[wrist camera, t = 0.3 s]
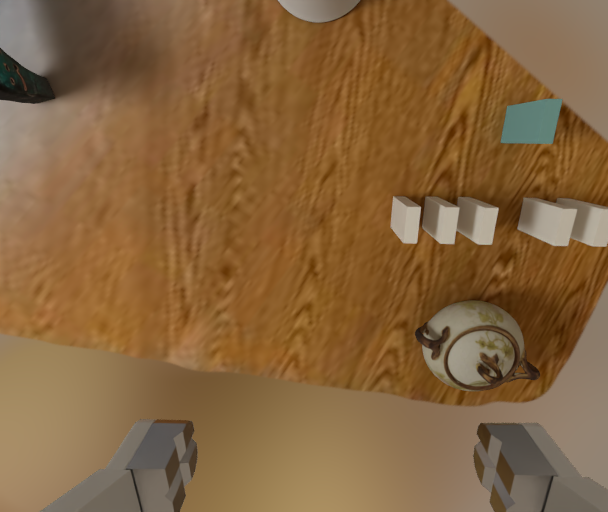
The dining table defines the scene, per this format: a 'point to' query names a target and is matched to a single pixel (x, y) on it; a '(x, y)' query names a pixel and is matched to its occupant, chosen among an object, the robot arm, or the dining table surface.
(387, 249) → the dining table surface
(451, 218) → the domino
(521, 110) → the teal rectangular block
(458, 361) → the sugar bowl
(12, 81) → the ceramic cat
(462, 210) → the domino
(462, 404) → the dining table surface
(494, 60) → the dining table surface
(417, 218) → the domino
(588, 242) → the domino
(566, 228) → the domino
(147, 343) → the dining table surface
